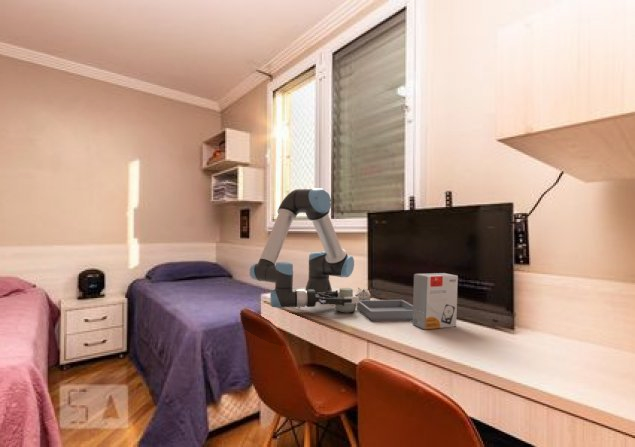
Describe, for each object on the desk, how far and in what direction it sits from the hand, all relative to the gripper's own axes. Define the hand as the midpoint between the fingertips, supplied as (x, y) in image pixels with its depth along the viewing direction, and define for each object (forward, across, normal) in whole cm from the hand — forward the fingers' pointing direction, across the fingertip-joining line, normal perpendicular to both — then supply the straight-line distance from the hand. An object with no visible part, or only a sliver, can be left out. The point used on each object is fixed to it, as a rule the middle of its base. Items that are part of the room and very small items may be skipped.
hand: (355, 297), depth 152 cm
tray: (+13, +7, -6) cm, 16 cm away
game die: (+8, -12, -6) cm, 16 cm away
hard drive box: (+25, +25, -6) cm, 36 cm away
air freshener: (-4, 0, -6) cm, 8 cm away
